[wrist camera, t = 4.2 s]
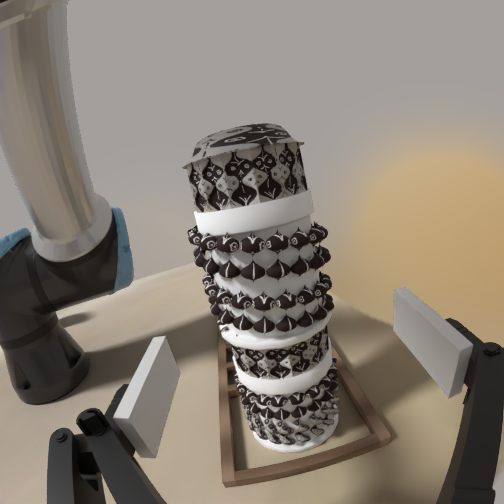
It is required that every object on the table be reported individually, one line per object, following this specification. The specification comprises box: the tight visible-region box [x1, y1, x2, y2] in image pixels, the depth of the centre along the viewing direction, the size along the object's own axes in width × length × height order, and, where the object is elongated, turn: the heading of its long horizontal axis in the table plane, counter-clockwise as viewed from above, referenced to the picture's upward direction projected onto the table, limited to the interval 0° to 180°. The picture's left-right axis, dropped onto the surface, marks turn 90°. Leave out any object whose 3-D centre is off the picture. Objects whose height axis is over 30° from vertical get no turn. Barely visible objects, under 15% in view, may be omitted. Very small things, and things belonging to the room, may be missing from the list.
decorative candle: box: [183, 124, 340, 453], centre depth 21 cm, size 9×9×25 cm
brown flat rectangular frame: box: [218, 315, 391, 487], centre depth 34 cm, size 34×14×1 cm, turn 6°
